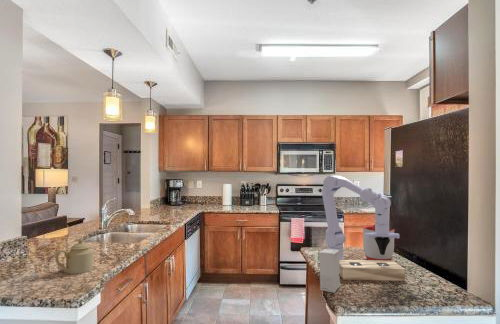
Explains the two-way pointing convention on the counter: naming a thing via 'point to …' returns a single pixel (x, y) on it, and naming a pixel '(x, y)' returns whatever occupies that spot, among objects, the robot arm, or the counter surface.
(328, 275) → the skincare box
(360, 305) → the counter surface
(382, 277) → the maple peg block
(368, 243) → the citrus juicer
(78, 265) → the olive green teapot
